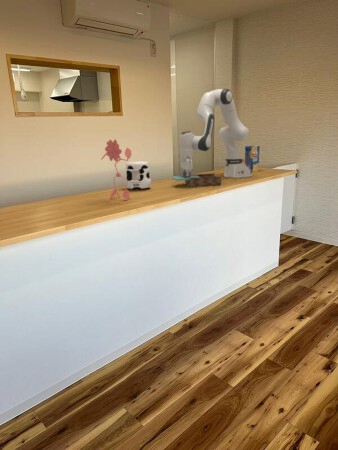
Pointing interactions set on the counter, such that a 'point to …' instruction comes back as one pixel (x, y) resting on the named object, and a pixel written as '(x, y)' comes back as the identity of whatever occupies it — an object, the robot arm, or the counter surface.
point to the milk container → (138, 175)
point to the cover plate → (184, 177)
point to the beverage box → (252, 158)
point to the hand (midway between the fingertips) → (186, 175)
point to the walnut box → (204, 180)
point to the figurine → (114, 153)
